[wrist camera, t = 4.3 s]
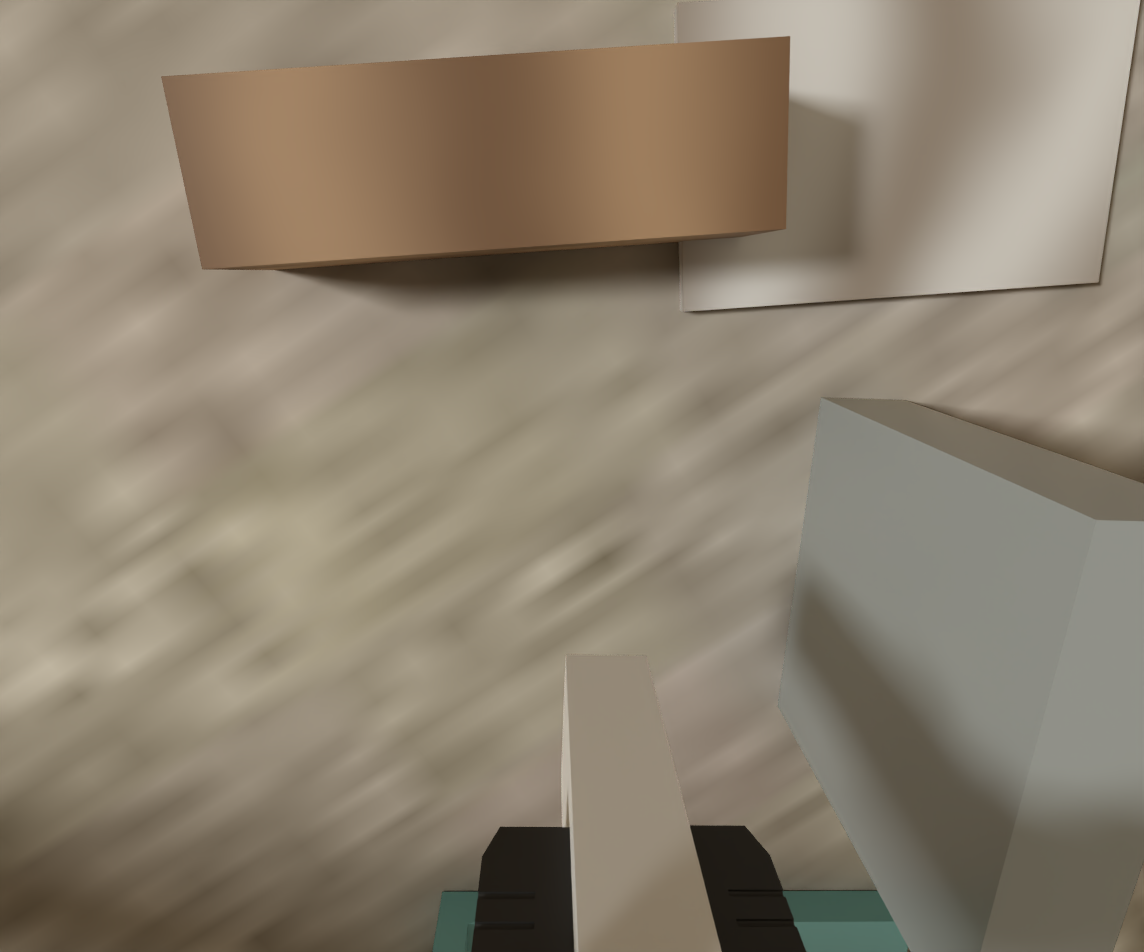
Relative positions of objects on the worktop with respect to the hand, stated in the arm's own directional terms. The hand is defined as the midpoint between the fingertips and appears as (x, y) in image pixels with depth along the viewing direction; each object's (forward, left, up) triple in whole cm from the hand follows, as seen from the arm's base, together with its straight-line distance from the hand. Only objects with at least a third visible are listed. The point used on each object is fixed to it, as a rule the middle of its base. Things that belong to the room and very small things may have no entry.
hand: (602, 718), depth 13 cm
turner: (+2, +11, -8) cm, 13 cm away
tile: (+8, 0, -8) cm, 11 cm away
